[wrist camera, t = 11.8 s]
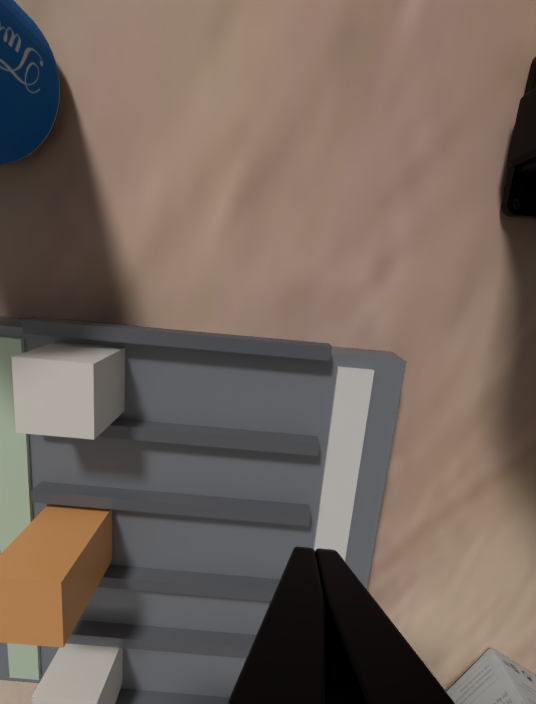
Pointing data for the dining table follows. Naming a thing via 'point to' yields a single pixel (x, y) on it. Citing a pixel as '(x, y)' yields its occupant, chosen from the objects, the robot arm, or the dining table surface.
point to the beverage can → (24, 84)
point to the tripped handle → (53, 573)
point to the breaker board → (186, 489)
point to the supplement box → (494, 682)
